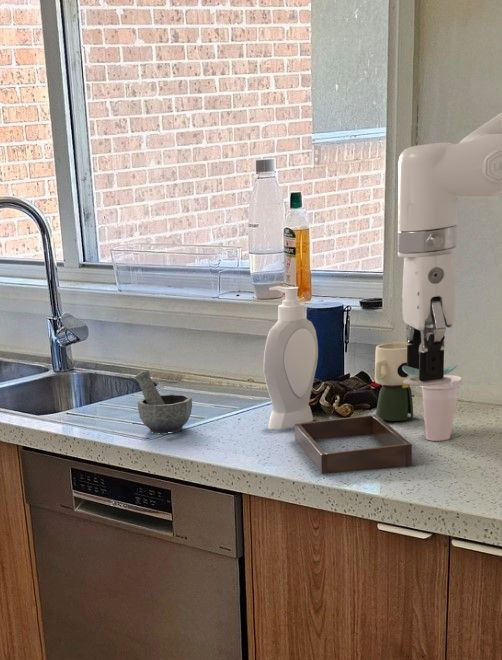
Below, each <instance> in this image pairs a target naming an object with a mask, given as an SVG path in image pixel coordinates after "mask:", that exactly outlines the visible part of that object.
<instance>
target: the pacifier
mask: <svg viewBox="0 0 502 660" xmlns="http://www.w3.org/2000/svg"><path fill="white" fill-rule="evenodd" d="M428 338H429V337H428ZM428 338H427V341H428ZM419 352H422V345H421V344H420V347H419ZM456 368H458V364H457V363H455V364H453V365H450V366H447V367H446V368H445V367H444V375H449V373H452V372H453V371H454V370H455V369H456ZM402 369H403V371H404V372H405V373H407V374H408V375H410V376H413V377H414V378H409V379H406V380H404V381H403V383H404V384H407V385H410V386H415V387H421V386H433V385H442V384H446V383H449V382H451V381H452V380H451V379H450V378H448V377H443V378H442V379H439V380H431V381H420V380H419V369H416V368H412V367H409V366H402Z"/></svg>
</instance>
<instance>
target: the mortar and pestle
mask: <svg viewBox="0 0 502 660" xmlns="http://www.w3.org/2000/svg"><path fill="white" fill-rule="evenodd" d="M150 374H151V373H150V371H149V370H143V371H140V372H139V373H137V374H136V375H135V377H134V380H135V381H136V382H137V383H138V385H139V387H140V391H141V393H142V396H143V398H141V399H140V400H139V401H137V411H138V415H139V418H140V420H141V422H142V424H143V425H144V426H145V427H146V428H148V430H149V432H150V433H151V432H153V433H168V432H176V433H179V432H181V431H182V430H183V427H184V426H185V425H186V423H188V421H189V418H190V417H191V415H192V410H193V398H192V397H191V396H190V395H188V394H177V393H172V394H171V393H169V394H160V393H159V391H158V389H157V387H156V385H155V384H154V382H153V380H152V378H151V375H150ZM180 430H181V431H180ZM178 431H179V432H178Z"/></svg>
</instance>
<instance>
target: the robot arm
mask: <svg viewBox="0 0 502 660" xmlns="http://www.w3.org/2000/svg"><path fill="white" fill-rule="evenodd" d="M397 168H398V169H397V170H398V171H397V175H398V179H397V181H398V183H397V184H398V186H397V187H398V188H397V190H398V191H397V199H398V200H397V257H399V258H403V268H402V271H403V272H402V294H401V297H402V298H401V311H402V312H401V313H402V319H403V322H404V323H405V324H406V325H407V326H406V327H407V335H406V342H407V343H408V344H411V345H407V366H409V367H412V368H416V369H419V380H420V381H431V380H439V379H442V378H443V377H444V369H445V359H444V352H445V348H446V347H445V346H446V345H445V338H446V337H445V334H446V331H447V329H450V328H453V327H454V326H455V324H456V288H455V285H456V283H455V281H456V280H455V265H454V258H453V253H454V252H457V245H458V244H457V240H458V238H457V236H458V205H459V204H458V203H459V201H458V199H459V197H494V196H498V195H501V194H502V112H500V113H498V114H496V115H495V116H494V117H492V118H491V119H490V120H488V121H486V122H485V123H484V124H482V125H481V126H479V127H477V128H476V129H475V130H473V131H472V132H471V133H469V134H468V135H467V136H465V137H463V138H462V139H461V140H460V141H459V142H458V143H453V142H448V141H447V142H446V141H444V142H443V141H442V142H433V143H426V144H419V145H413V146H410V147H407V148H405V149H404V150H402V152H400V154H399V158H398V167H397ZM431 326H432V327H431ZM428 337H429V338H428ZM427 338H428V341H427ZM420 344H421V345H422V352H419V347H420Z"/></svg>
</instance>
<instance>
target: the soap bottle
mask: <svg viewBox="0 0 502 660" xmlns="http://www.w3.org/2000/svg"><path fill="white" fill-rule="evenodd" d="M268 289H269V291H279V292H280V293H283V294H284V299H282V300H281V304H278V305H277V306H278V307H277V321H276V322H275V324H273V325H272V327H271V328H270V329H269V331H268V334H267V337H266V340H265V347H264V352H263V376H264V381H265V385H266V388H267V389H266V390H267V393H268V395H269V398H270V403H271V406H272V410H271V413H270V417H269V422H268V427H267V428H268V429H269V430H285V429H290V428H295V424H298V423H307V422H314V416H313V413H312V409H311V406H310V405H309V404H310V399H311V395H312V391H313V385H314V380H315V376H316V371H317V366H318V359H319V344H318V336H317V330H316V328H315V326H314V324H313V322H312V321H311V320H309V319H307V318H305V303H303V302H301V298H298V289H299V286H282V285H281V286H280V285H275V286H270V287H269V288H268Z"/></svg>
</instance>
